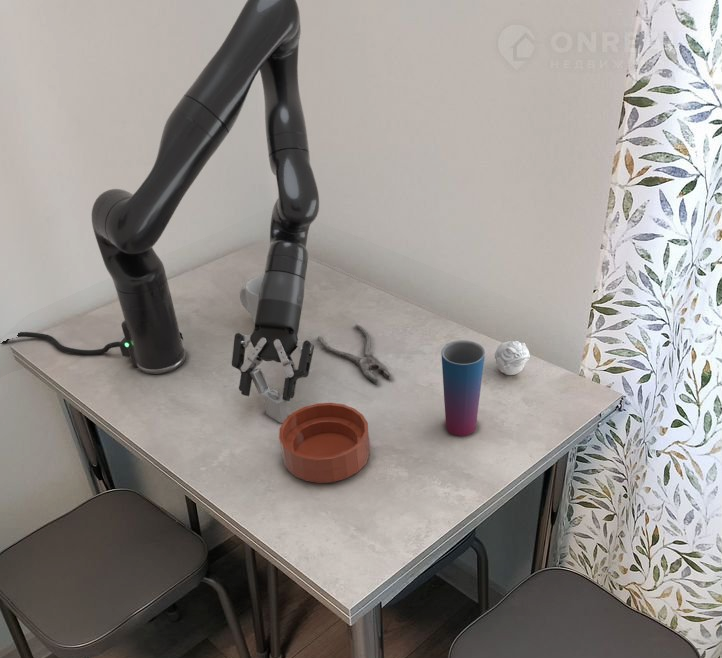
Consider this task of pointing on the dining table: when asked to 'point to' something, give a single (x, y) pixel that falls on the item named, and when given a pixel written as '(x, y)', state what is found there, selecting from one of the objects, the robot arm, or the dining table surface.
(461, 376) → the cup
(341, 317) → the dining table surface
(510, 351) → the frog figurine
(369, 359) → the pliers
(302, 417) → the bowl
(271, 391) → the lighter
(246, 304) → the mug
